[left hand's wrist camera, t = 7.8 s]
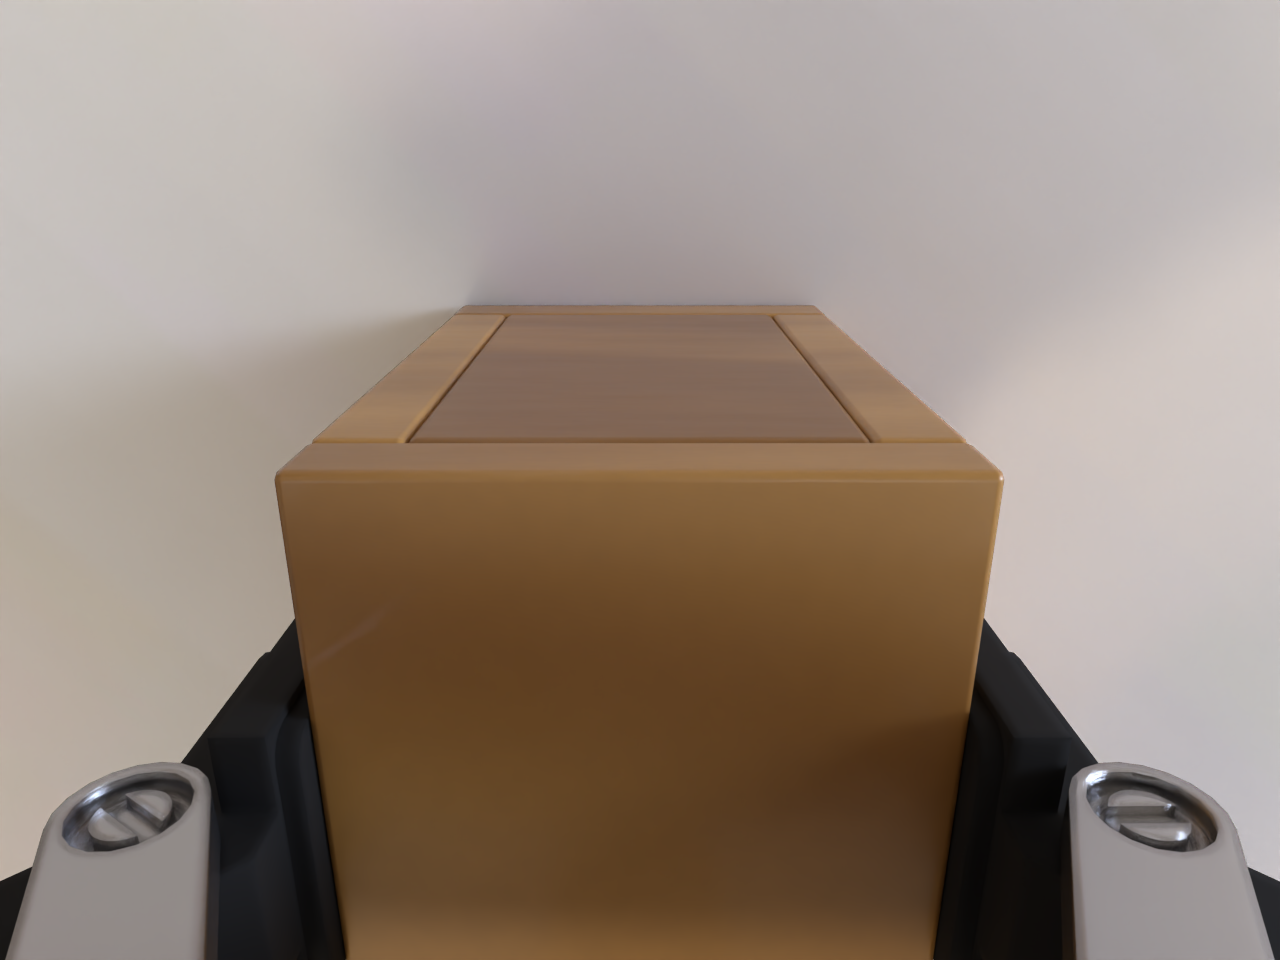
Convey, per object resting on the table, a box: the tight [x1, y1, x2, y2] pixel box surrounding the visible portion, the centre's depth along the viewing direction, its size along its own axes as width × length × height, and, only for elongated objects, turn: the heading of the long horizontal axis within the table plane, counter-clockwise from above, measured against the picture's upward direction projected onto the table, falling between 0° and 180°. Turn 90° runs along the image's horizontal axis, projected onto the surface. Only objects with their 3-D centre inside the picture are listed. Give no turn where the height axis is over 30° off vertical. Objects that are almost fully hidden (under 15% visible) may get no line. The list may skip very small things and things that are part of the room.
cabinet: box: [275, 306, 1004, 960], centre depth 15 cm, size 20×6×9 cm, turn 0°
